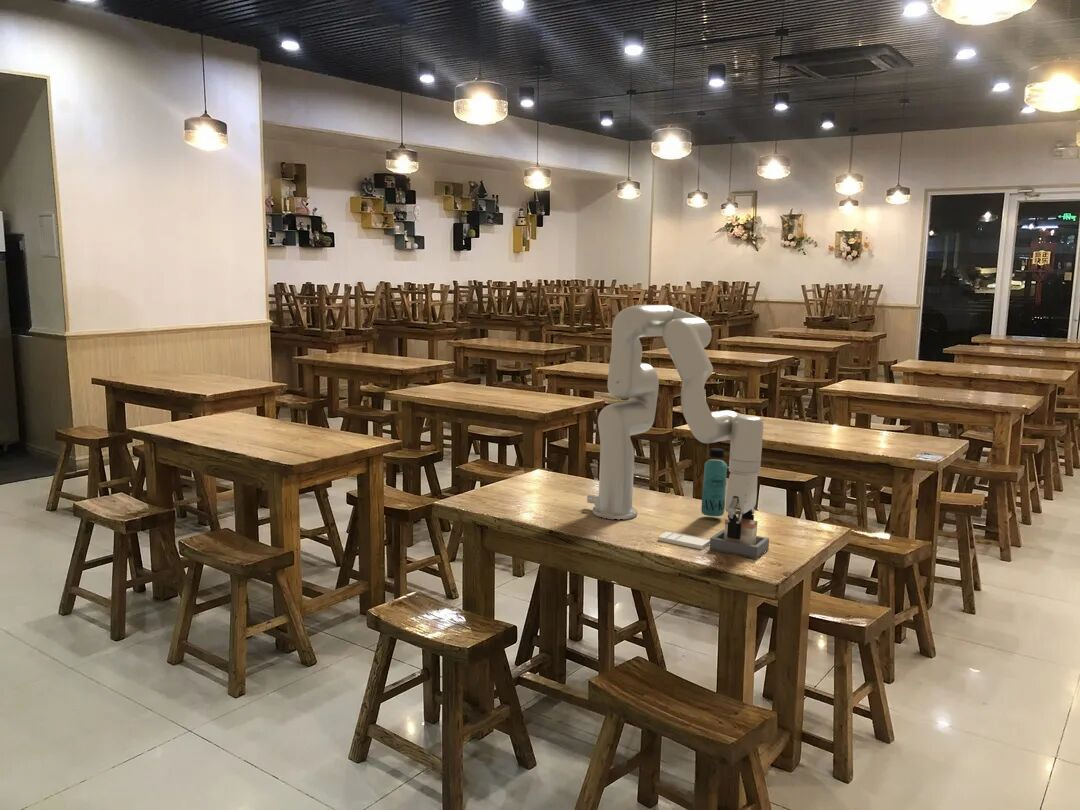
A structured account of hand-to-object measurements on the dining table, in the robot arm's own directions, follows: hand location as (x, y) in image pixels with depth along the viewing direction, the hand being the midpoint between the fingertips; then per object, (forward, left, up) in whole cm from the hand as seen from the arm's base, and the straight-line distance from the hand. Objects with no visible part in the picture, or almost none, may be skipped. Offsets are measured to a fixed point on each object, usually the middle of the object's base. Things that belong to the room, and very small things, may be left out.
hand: (740, 533), depth 212 cm
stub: (0, 0, -4) cm, 4 cm away
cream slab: (-13, -3, -4) cm, 14 cm away
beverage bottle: (-15, +22, -4) cm, 27 cm away
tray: (0, 0, -4) cm, 4 cm away
